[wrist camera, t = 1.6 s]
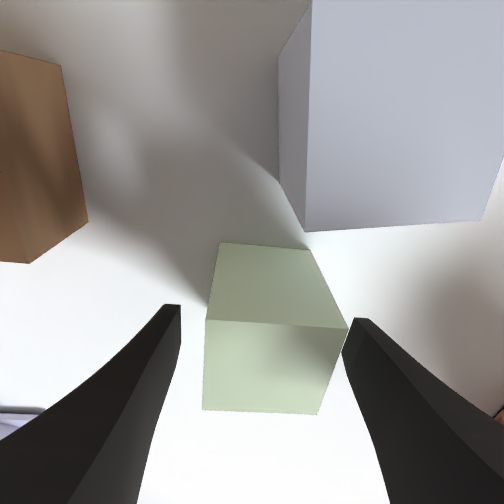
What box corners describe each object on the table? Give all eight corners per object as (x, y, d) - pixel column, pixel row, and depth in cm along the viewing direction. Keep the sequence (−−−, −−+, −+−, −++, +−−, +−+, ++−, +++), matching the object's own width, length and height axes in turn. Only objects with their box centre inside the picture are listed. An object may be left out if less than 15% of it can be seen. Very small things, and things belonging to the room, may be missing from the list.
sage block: (293, 318, 15) (317, 414, 10) (215, 313, 15) (201, 409, 10) (310, 249, 13) (348, 328, 8) (219, 241, 13) (205, 319, 8)
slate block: (381, 175, 12) (480, 220, 7) (279, 182, 12) (304, 232, 7) (402, 47, 10) (567, -20, 5) (277, 56, 10) (312, -1, 5)
